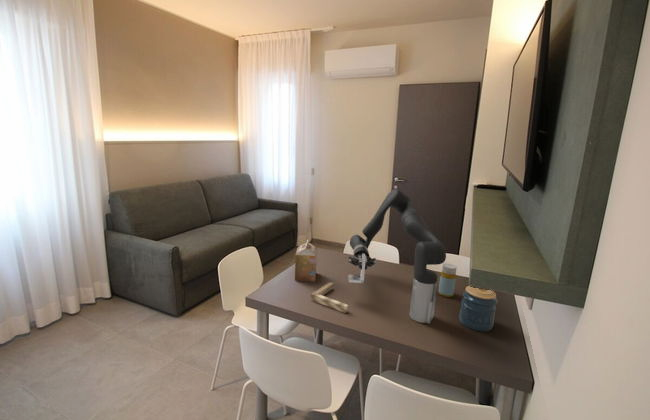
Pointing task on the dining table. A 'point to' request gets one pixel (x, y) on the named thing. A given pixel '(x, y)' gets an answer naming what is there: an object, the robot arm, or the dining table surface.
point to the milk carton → (305, 262)
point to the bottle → (447, 280)
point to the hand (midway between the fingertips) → (363, 267)
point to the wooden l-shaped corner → (326, 301)
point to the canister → (478, 309)
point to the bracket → (359, 277)
